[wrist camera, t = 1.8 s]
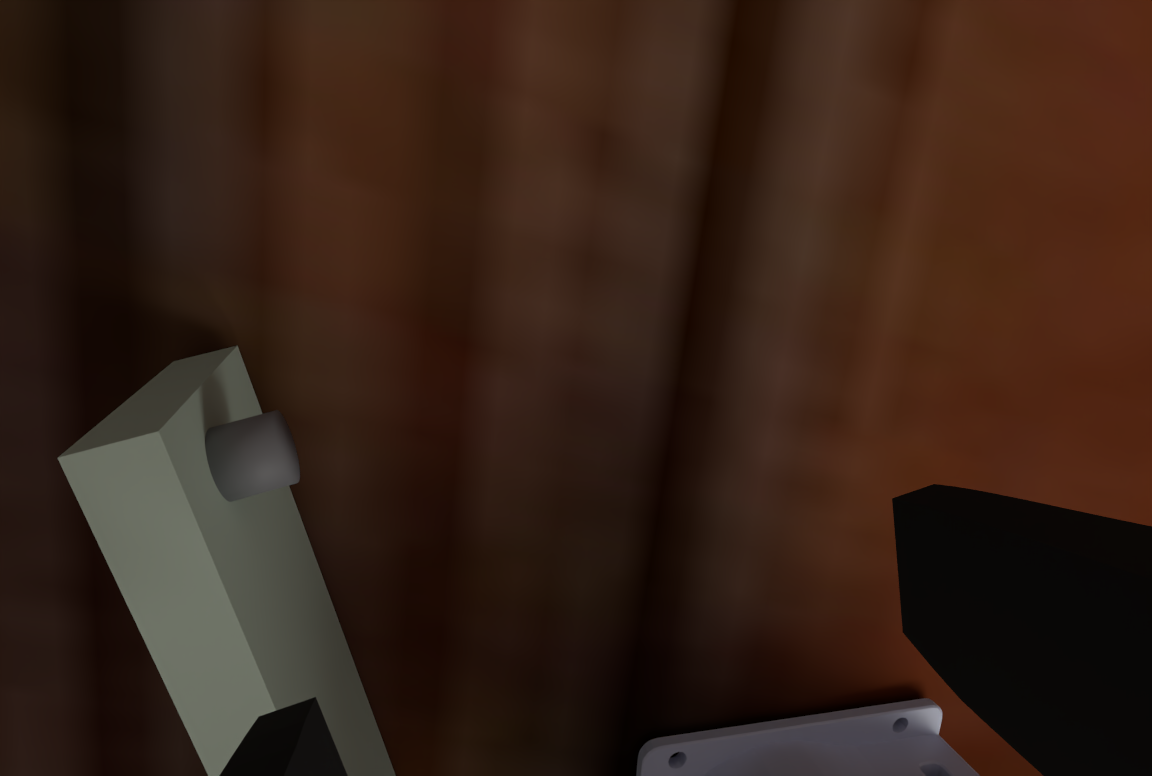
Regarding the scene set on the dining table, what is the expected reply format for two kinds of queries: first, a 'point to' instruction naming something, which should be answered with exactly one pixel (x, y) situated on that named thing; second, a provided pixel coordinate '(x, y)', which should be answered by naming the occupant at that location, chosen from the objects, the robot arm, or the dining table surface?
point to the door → (220, 559)
